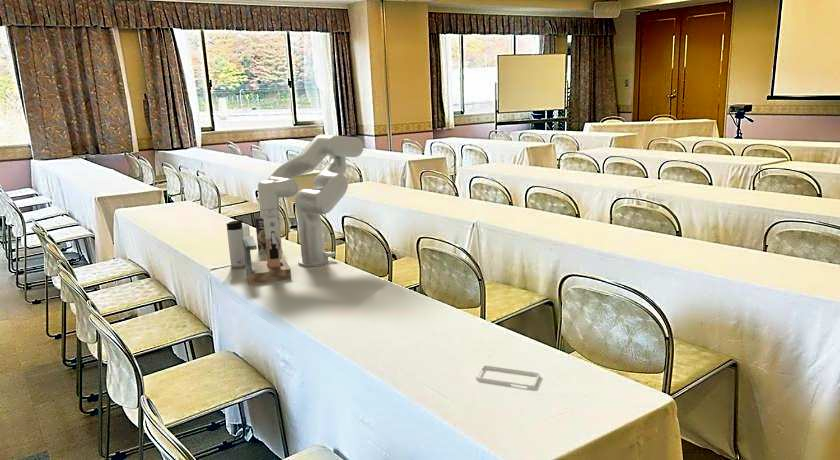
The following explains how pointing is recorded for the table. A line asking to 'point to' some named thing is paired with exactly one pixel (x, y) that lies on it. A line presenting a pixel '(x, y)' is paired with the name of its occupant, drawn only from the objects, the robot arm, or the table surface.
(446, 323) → the table surface
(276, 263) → the peg
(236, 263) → the travel mug
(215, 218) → the table surface
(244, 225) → the drinking glass
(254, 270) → the socket block
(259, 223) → the coffee box
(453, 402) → the table surface
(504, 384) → the rectangular ring
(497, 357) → the table surface
